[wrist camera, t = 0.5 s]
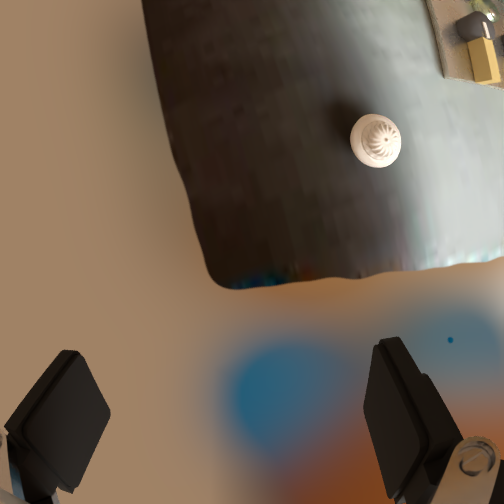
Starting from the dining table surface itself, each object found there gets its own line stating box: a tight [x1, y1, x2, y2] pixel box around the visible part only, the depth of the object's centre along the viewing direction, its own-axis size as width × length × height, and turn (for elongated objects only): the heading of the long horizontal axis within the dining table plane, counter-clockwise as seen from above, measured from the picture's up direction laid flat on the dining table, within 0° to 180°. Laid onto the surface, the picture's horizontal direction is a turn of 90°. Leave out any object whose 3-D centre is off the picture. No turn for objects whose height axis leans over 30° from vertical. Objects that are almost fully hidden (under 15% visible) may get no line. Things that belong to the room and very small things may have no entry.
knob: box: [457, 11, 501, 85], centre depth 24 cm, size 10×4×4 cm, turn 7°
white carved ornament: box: [350, 114, 401, 168], centre depth 30 cm, size 6×6×7 cm
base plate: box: [426, 0, 504, 91], centre depth 24 cm, size 22×20×4 cm
